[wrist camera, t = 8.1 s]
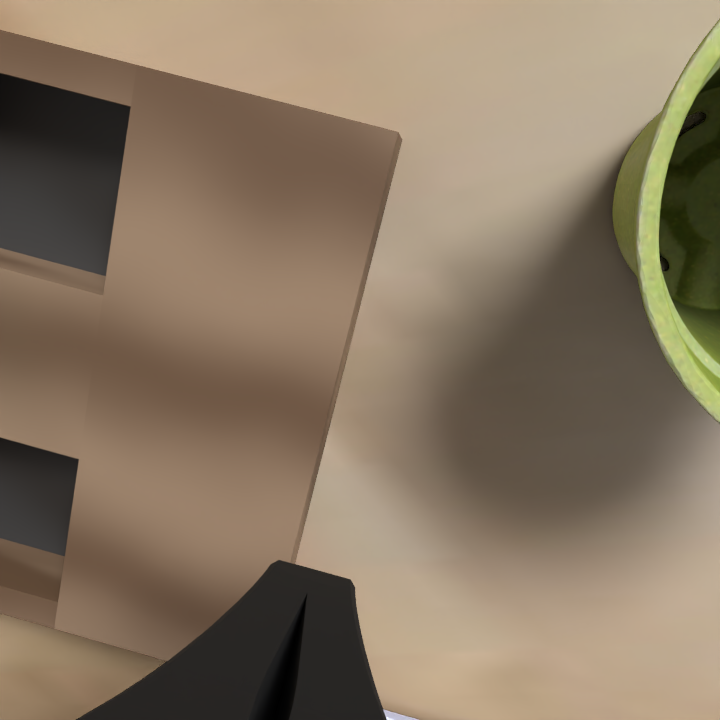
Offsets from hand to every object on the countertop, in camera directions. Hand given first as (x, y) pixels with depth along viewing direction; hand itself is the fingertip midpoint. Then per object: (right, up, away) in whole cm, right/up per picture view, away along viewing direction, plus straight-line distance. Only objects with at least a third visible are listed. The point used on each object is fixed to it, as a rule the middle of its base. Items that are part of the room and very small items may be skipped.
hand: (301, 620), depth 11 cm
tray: (-8, +5, +10) cm, 14 cm away
